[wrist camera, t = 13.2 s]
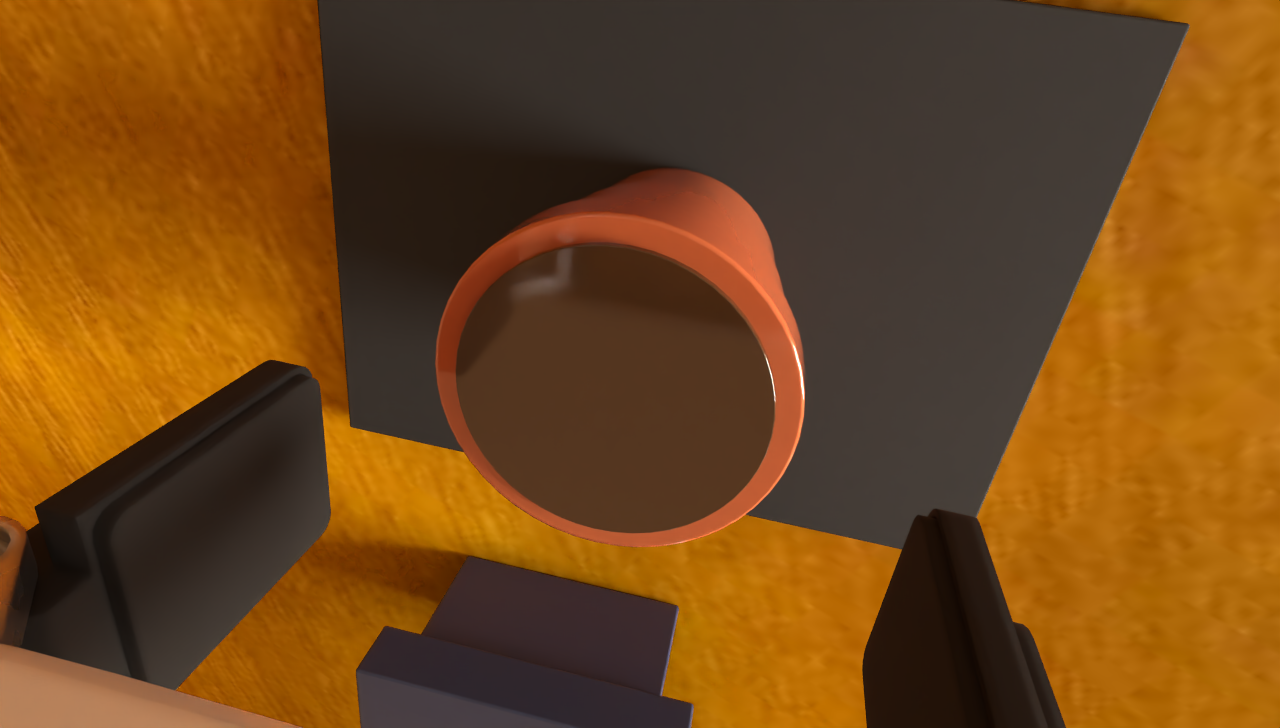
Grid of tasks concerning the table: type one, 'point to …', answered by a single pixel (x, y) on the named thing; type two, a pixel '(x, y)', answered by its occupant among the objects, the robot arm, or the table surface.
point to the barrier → (525, 658)
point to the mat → (758, 196)
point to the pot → (627, 362)
